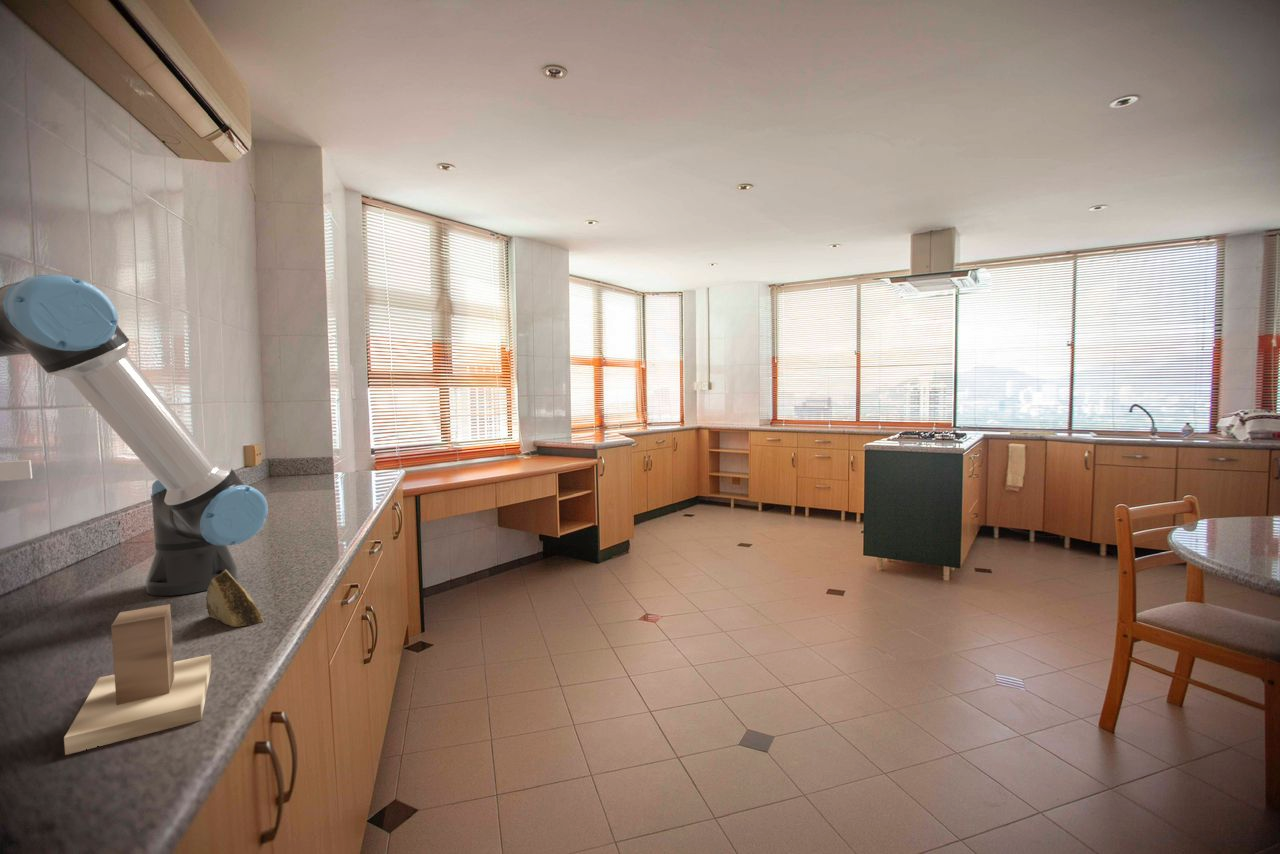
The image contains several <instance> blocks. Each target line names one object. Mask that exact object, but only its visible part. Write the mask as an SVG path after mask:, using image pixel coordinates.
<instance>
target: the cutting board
mask: <svg viewBox="0 0 1280 854" xmlns="http://www.w3.org/2000/svg"><path fill="white" fill-rule="evenodd" d="M212 668H213V667H212V654H211V653H210V654H205V655H202V656H201V655H200V656H196V657H191V658H187V659H182V660H177V661H174V680H173V683H172V686H171V689H170V693H168V694H164V695H159V696H155V697H151V698H146V699H142V700H138V701H133V702H129V703H125V704H120V705H116V690H115V675H114V674H110V675H105V676H100V677H98V679H97V680H96V683H95V684H94V685H93V687H92V689H91V691H90V692H89V694H88V696H87V698H86V700H85V701H84V703H83V704H82V706H81V708H80V710H79V711H78V713H77V715H76V716H75V718H74V720H73V721H72V723H71V725H70V727H69V729H68V730H67V732H66V734H65V735H64V737H63V742H64V743H63V745H64V755H65V756H66V755H67V756H68V755H72V754H74V753H75V754H76V753H80V752H83V751H86V749H87V750H91V749H94V748H98V747H97V746H99V747H102V746H106V745H110V744H114V743H117V742H122V741H126V740H130V739H133V738H137V737H142V736H144V735H145V736H146V735H148V734H152V733H157V732H160V731H161V732H162V731H164V730H168V729H169V730H170V729H172V728H175V727H176V728H177V727H180V726H184V725H188V724H192V723H196V722H199V721H202V719H203V713H204V708H205V705H206V697H207V692H208V689H209V683H210V679H211V678H210V676H211V672H212Z"/></svg>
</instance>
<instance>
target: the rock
mask: <svg viewBox="0 0 1280 854" xmlns="http://www.w3.org/2000/svg"><path fill="white" fill-rule="evenodd" d="M205 599H206V605H205V607H206V610H207V611H206V612H207V615H208V616H209V617H210V618H212V619H215V620H216V621H219V620H220V621H219V622H222V623H223V624H226V625H228V626H230V627H233V628H237V627H245V626H252V625H257V624H260V623H264V622H265V619H263V618H262V616H261V611H260V610H259V608H258V607H257V606H256V605H255V602H254V600H253V598H252V597H251V595H250V594H249V592H248V591H247V590H246V588H244V587H243V586H242V585H241V584H239V583H238V582H237V579H234V578H233V577H232V576H231V574H230V573H229V572H228V571H227V570H226V569H225V570H224V571H223V572H222V573H221V574H220V575H218V576H216V577H215V578H213V579H212V580H211V582H210V585H209V587H208V589H207V590H206V597H205Z"/></svg>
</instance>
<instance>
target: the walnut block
mask: <svg viewBox="0 0 1280 854" xmlns="http://www.w3.org/2000/svg"><path fill="white" fill-rule="evenodd" d="M110 628H111V629H110V630H111V641H112V645H111V646H112V656H113V657H112V659H113V673H114V674H113V675H115V690H116V705H120V704H125V703H129V702H133V701H138V700H142V699H146V698H151V697H155V696H159V695H164V694H168V693H170V689H171V686H172V683H173V680H174V662H175V661H174V648H173V646H174V645H173V633H172V629H173V628H172V615H171V604H170V603H169V604H163V605H157V606H156V605H155V606H151V607H144V608H139V609H132V610H127V611H126V610H125V611H120V612H119V613H118V614H117V616H116V617H115V620H114V621H113V622H112V624H111V627H110Z"/></svg>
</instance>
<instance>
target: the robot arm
mask: <svg viewBox="0 0 1280 854" xmlns="http://www.w3.org/2000/svg"><path fill="white" fill-rule="evenodd" d="M117 312H118V311H117V309H116V307H115V305H114V304H113V302H112V300H111V299H110V298H109V297H108V296H107V295H106V294H105V292H104V291H102V290H101V289H99V288H98V287H96V286H95V285H93V284H91V283H89V282H87V281H85V280H82V279H81V278H80V279H79V278H77V277H76V278H75V277H72V276H67V275H61V274H59V275H58V274H40V275H38V274H37V275H34V276H30V277H29V276H28V277H26V278H23V279H21V280H19V281H16V282H13V283H10V284H6V285H3V286H0V358H4V357H10V356H18V355H28V354H29V355H31V357H32V358H33V359H34V360H35V361H36V362H37V363H38V364H39V365H40V366H41V367H42V369H44V371H45V372H46V373H47V374H48V375H49V376H56V377H60V378H64V379H67V380H68V381H69V382H70V383H71V384H72V385H73V386H74V388H76V389H77V391H78V392H79V393H80V394H81V395H82V396H83V398H84V399H86V401H87V402H88V403H89V405H91V406H92V407H93V409H94V410H96V412H97V413H98V414H99V415H100V416H101V418H103V420H104V422H106V424H108V425H109V427H111V429H112V430H113V431H114V432H115V433H116V434H117V435H118V437H119V438H120V439H121V440H122V442H124V443H125V444H126V445H127V446H128V448H129V449H130V450H131V451H132V452H133V453H134V454H135V455H136V457H137V458H138V459H139V460H140V462H142V463H143V464H144V466H145V467H146V468H147V469H148V470H149V472H150V473H152V475H153V476H154V477H155V478H156V480H155V481H153V482H152V485H151V494H150V499H151V503H152V505H151V506H152V517H153V521H152V522H153V534H154V546H155V547H154V549H155V550H154V551H155V553H154V556H153V559H152V562H151V565H150V568H149V570H148V574H147V577H146V579H145V587H146V588H145V589H146V593H147V594H148V595H152V596H161V597H162V596H163V597H165V596H167V597H169V596H180V595H188V594H195V593H199V592H200V593H201V592H203V591H204V592H205V591H207V589H208V587H209V585H210V582H211V580H212V579H213V578H215V577H216V576H218V575H220V574H221V573H222V572H223V571H224V570H225V569H226V570H227V571H228V572H229V573H230V574H231V576H232V577H233V578H234V579H235V580H237V578H238V564H237V563H236V561H235V559H234V557H233V555H232V553H231V551H230V549H229V546H236V545H239V544H240V545H241V544H242V543H245V542H247V541H249V540H250V539H252V538H253V537H255V536H256V535H257V534H258V533H259V532H260V531H261V529H262V528H263V527H264V525H265V523H266V520H267V516H268V513H269V506H268V501H267V499H266V497H265V496H264V494H263V493H261V491H259V489H257V488H254V487H253V486H251V485H247V484H245V483H244V482H243V481H242V479H240V476H238V475H237V473H236V472H235V471H234V469H232V467H231V466H230V465H228V464H224V463H217V462H216V461H214V459H213V458H212V457H211V456H210V454H209V453H208V452H207V451H206V449H205V448H204V447H203V445H201V443H200V442H199V440H198V439H197V438H196V437H195V435H193V433H192V432H191V430H190V429H189V428H188V427H187V426H186V425H185V424H184V422H183V421H182V420H181V419H180V418H179V416H178V414H177V413H176V412H175V411H174V410H173V409H172V408H171V406H170V405H169V404H168V403H167V401H166V400H165V399H164V398H163V396H162V395H161V394H160V393H159V392H158V390H157V389H156V388H155V387H154V385H153V383H151V382H150V380H149V379H148V378H147V376H146V375H145V374H144V373H143V371H142V370H141V368H139V367H138V365H137V364H136V363H135V362H134V360H133V359H132V358H131V357H130V356H129V353H128V351H129V347H130V344H131V341H130V339H129V338H128V336H127V335H126V334H125V333H124V332H123V330H122V329H121V327H119V325H118V317H119V316H118V313H117ZM32 479H33V469H32V460H31V459H25V460H11V461H9V460H8V461H0V482H6V481H19V480H20V481H21V480H32Z"/></svg>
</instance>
